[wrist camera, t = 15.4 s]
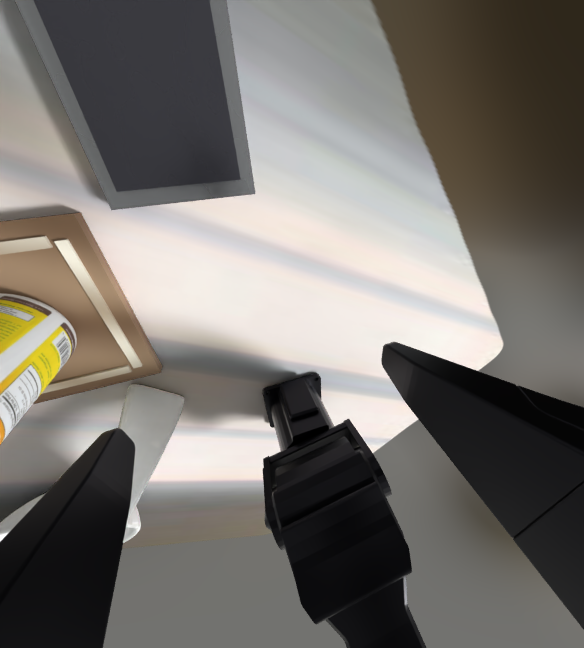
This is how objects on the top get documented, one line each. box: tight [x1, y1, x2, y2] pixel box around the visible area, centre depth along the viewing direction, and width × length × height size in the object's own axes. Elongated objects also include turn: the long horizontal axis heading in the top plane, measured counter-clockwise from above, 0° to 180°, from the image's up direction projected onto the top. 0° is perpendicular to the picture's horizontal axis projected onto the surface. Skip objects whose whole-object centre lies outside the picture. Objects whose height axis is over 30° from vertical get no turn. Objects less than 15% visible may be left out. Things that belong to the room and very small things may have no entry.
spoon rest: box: [0, 384, 185, 543], centre depth 21 cm, size 24×12×7 cm, turn 141°
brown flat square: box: [0, 212, 162, 404], centre depth 15 cm, size 12×12×1 cm
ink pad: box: [15, 0, 255, 210], centre depth 11 cm, size 10×8×2 cm
